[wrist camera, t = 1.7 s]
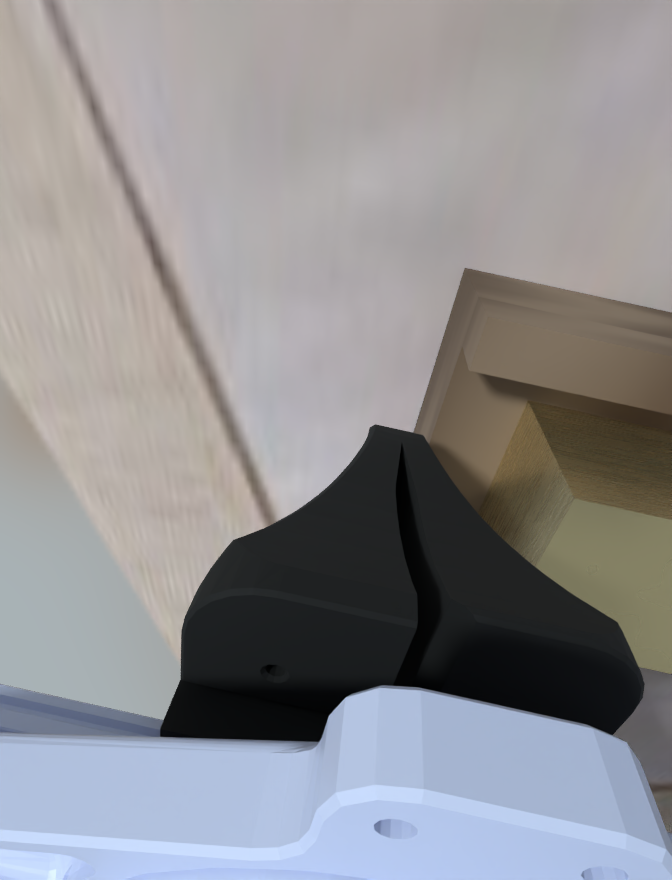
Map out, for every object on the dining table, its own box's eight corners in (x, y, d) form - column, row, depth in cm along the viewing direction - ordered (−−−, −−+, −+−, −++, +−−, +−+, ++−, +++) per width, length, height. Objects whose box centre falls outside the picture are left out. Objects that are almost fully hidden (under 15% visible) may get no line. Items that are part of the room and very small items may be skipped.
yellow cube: (684, 434, 12) (791, 546, 9) (608, 548, 14) (672, 674, 11) (527, 400, 12) (574, 498, 9) (475, 519, 14) (496, 635, 11)
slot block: (853, 352, 14) (1028, 433, 10) (685, 563, 18) (760, 676, 14) (465, 267, 14) (488, 316, 10) (392, 499, 18) (389, 594, 14)
